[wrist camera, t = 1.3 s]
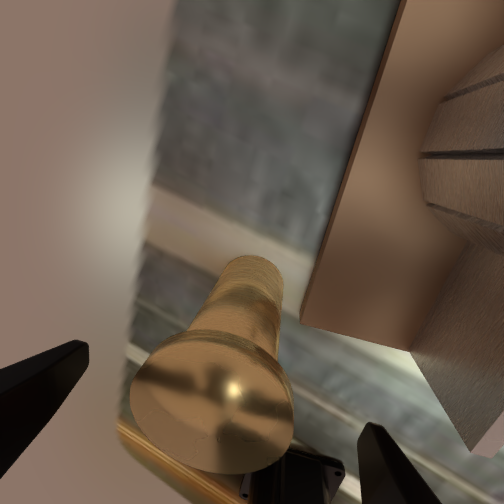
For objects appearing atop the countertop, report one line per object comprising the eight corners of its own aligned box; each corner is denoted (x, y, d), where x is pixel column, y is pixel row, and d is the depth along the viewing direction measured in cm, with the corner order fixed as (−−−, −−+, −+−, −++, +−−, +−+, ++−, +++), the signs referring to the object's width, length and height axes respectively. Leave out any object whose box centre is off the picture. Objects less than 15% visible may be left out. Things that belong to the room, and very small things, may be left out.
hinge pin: (282, 328, 15) (271, 491, 8) (207, 308, 16) (127, 447, 8) (303, 257, 14) (315, 379, 6) (218, 236, 14) (132, 328, 6)
